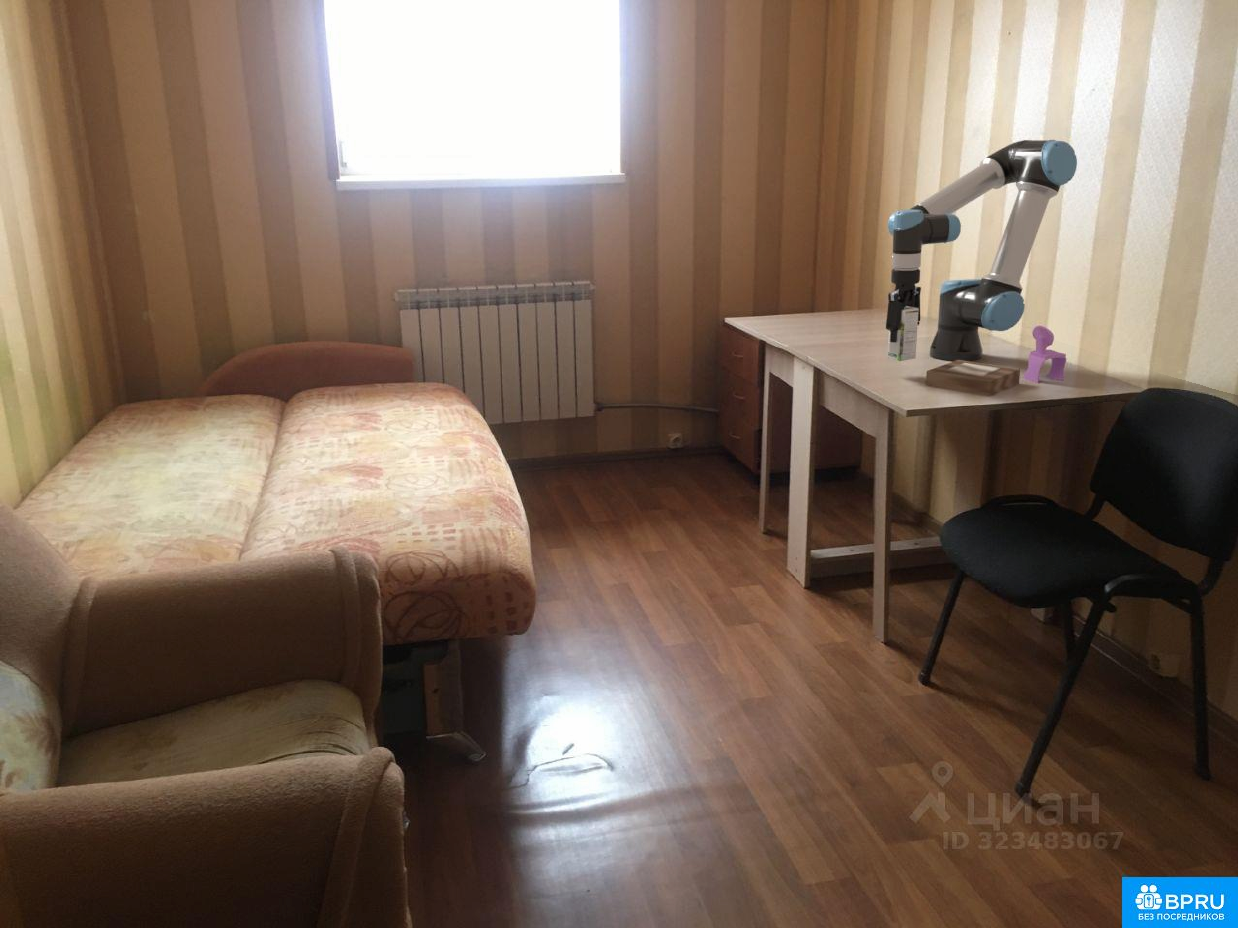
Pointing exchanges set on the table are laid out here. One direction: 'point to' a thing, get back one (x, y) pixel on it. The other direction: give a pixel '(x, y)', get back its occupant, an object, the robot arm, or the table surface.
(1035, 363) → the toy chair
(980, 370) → the walnut base
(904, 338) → the syrup box
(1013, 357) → the table surface
